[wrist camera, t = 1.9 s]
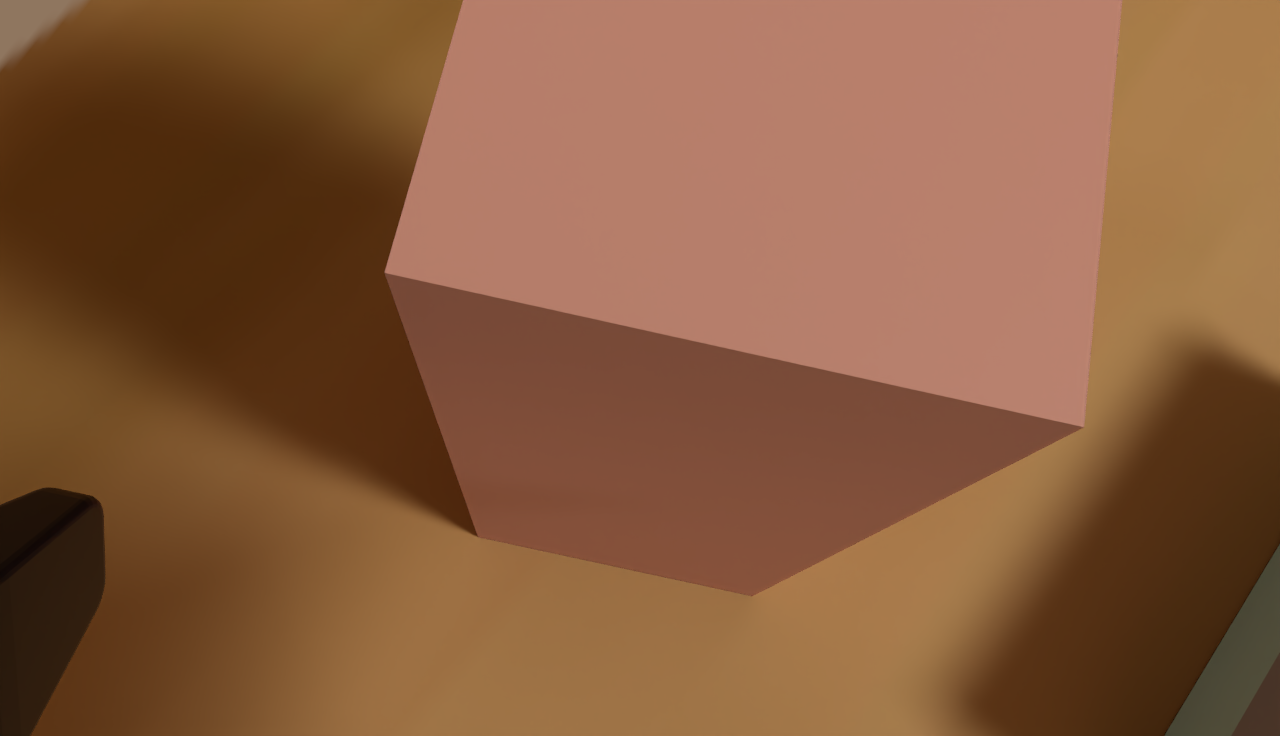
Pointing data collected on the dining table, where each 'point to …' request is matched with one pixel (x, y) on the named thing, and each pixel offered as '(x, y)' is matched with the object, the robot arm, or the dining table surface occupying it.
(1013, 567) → the dining table surface
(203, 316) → the dining table surface
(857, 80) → the tall brick
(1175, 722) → the brick base
